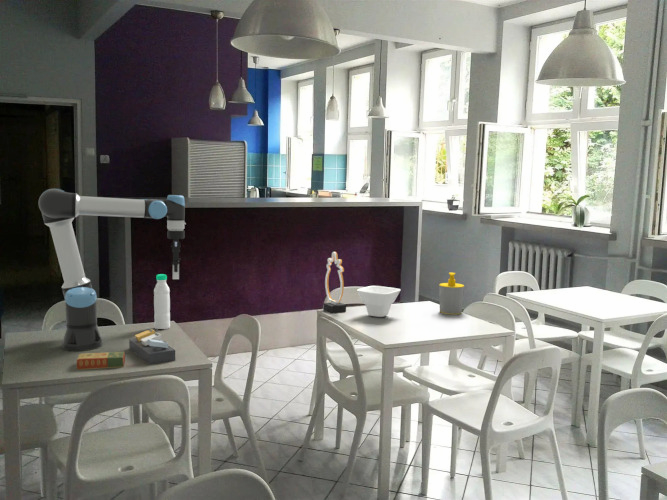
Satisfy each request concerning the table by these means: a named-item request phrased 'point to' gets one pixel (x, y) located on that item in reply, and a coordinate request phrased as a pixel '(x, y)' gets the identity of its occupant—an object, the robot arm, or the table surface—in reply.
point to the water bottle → (161, 303)
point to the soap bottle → (451, 296)
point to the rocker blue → (157, 343)
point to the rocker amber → (144, 334)
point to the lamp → (336, 305)
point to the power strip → (151, 352)
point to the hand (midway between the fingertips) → (175, 276)
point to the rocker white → (153, 337)
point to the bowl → (378, 299)
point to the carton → (101, 360)
